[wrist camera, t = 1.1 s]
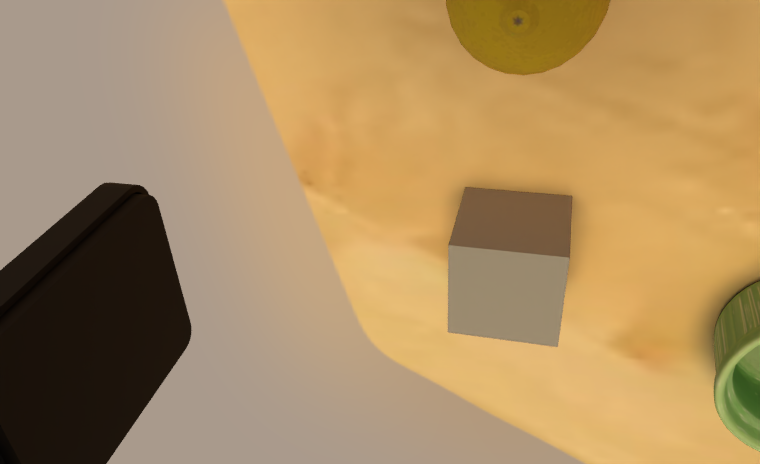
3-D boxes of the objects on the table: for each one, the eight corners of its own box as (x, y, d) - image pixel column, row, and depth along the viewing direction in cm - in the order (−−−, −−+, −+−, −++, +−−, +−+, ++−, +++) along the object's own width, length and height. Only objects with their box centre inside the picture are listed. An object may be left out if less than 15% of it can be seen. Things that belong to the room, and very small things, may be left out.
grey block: (465, 186, 33) (448, 245, 29) (572, 195, 32) (569, 257, 28) (463, 268, 36) (447, 332, 32) (561, 279, 34) (557, 346, 30)
